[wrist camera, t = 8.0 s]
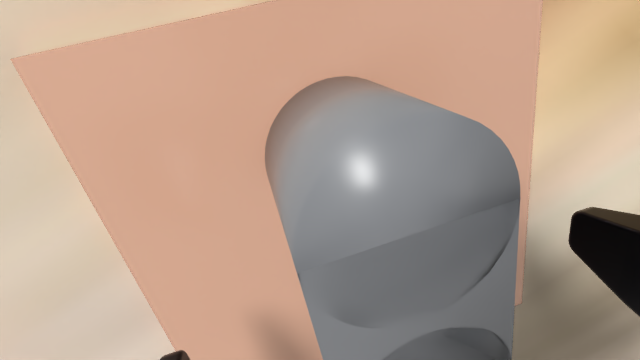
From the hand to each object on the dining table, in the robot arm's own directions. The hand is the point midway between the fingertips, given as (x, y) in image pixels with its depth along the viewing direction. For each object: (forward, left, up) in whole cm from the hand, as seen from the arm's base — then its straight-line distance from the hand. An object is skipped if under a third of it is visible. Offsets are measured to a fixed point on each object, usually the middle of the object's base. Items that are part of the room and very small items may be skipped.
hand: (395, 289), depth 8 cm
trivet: (0, 0, -4) cm, 4 cm away
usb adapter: (0, 0, -3) cm, 3 cm away
